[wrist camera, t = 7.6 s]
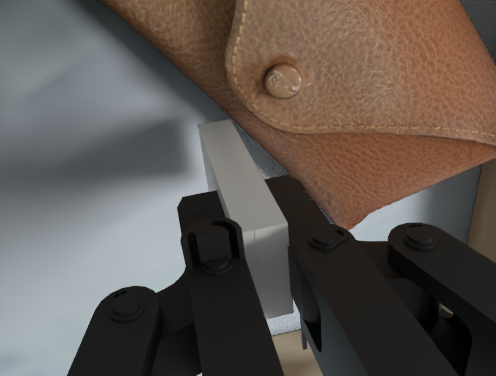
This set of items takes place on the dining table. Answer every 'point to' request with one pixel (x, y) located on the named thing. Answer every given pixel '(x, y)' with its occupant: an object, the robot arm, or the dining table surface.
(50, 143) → the dining table surface
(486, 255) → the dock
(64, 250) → the dining table surface
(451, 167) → the sunglasses case
